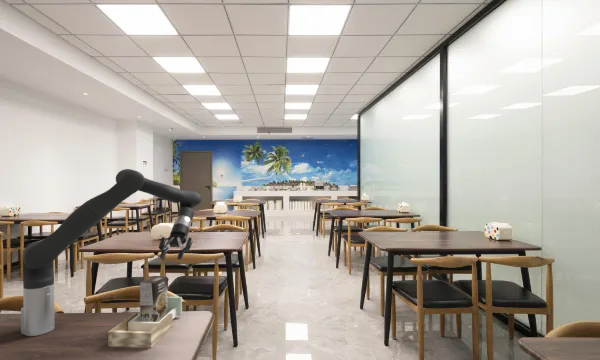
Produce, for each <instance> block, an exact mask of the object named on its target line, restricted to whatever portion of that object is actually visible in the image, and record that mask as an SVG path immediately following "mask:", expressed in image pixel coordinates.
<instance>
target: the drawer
mask: <svg viewBox="0 0 600 360" xmlns="http://www.w3.org/2000/svg"><path fill="white" fill-rule="evenodd" d="M169 313H170V314H173V320H174V319H175V318H176V317H177V316H182V315H183V297H182V296H167V315H168V314H169ZM167 315H166V316H167ZM166 316H165V317H166ZM165 317H163V318H162V319H161V320H160V321H159V322H140V313H138V315H137V316H136V317H134V318H133V319H132V320H131V321H129V322H128V331H144V332H150V331H151V330H152V329H153V328H154V327H155V326H156V325H157V324H159V323H160V322H161V321H162V320H163V319H164V318H165Z"/></svg>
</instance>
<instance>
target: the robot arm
mask: <svg viewBox="0 0 600 360" xmlns="http://www.w3.org/2000/svg"><path fill="white" fill-rule="evenodd" d="M115 182H116V183H115V184H114V185H112V187H110V188H109V189H108V190H106V191H104V192H103V193H100V194H97V195H96V196H93V197H92V198H89V200H86V201H85V202H83V203H82V204H80V206H78V207H77V208H76V209H75V210H73V211H72V212H71V213H70V214H69V215H68V216H67V217H66V218H65V220H63V222H62V223H61V224H60V225H59V227H57V228H56V229H55V230H54V231H53V232H52V233H50V234H49V235H48V236H46V237H45V238H44V239H42V240H41V241H34V242H32V243H29V244H28V245H27V246H26V247H25V248H24V249H23V252H22V284H23V285H22V287H23V288H22V290H23V293H22V294H23V300H22V302H23V306H22V307H21V309H20V334H21V335H24V336H25V335H26V337H34V336H35V337H36V336H41V335H44V334H47V333H50V332H52V331H53V330H54V329H55V326H56V325H55V272H54V261H55V260H56V259H57V258H58V257H59V256H60V254H62V253H63V252H64V251H65V250H66V249H67V248H68V247H69V246H70V245H72V243H74V242H76V240H78V239H80V237H82V236H83V235H84V234H86V233H87V232H89V231H90V230H91V229H92V228H93V227H95V226H96V225H97V224H98V223H99V222H101V221H102V220H103V219H104V218H105V217H106V216H108V215H109V214H110V213H111V212H112V211H113V210H115V208H116V207H117V206H119V205H120V204H121V203H122V202H124V201H125V200H126V199H128V198H130V196H132V195H133V194H135V193H136V192H138V191H139V192H143V193H146V194H149V195H151V196H153V197H156V198H159V199H161V200H164V201H166V202H167V201H168V202H170V203H173V204H179V208H178V214H177V216H176V218H175V221H174V223H173V225H172V228H171V231H170V233H169V235H168V237H165V236H162V237H161V239H160V241H159V245H158V250H160V255H159V256H160V259H161V260H163V261H164V260H165V257H166V254H167V252H168V251H169V250H171V249H172V248H179V249H180V250H179V251H178V255H177V257H176V258H177V260H178V261H181V260H182V259H183V256H184V254H185V252H187V253H189V252H190V251H191V247H192V244H193V242H194V241H193V239H192V237H188V236H189V232H190V230H191V226H192V221H193V219H194V215H195V212H194V211H195V210H194V209H193V208H195V207H197V206H199V205H200V204H201V202H202V196H201V194H199V192H197V191H194V190H190V189H179V188H177V187H175V186H172V185H169V184H166V183H162V182H158V181H154V180H152V179H149V178H147V177H145V176H144V175H143V173H141V172H140V171H137V170H135V169H130V168H126V169H125V168H124V169H122V170H120V171H118V173H117V174H116V176H115ZM185 243H186V245H185V246H184V244H185Z"/></svg>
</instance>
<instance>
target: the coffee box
mask: <svg viewBox="0 0 600 360" xmlns="http://www.w3.org/2000/svg"><path fill="white" fill-rule="evenodd" d="M139 285H140V286H139V314H140V322H159V321H160V320H161V319H162V318H163V317H165V316H166V315H167V297H168V276H166V275H153V276H150V277H149V278H147V279H144V280H142V281H140V284H139Z"/></svg>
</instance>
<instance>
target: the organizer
mask: <svg viewBox="0 0 600 360" xmlns="http://www.w3.org/2000/svg"><path fill="white" fill-rule="evenodd" d="M138 314H139V313H138V312H133V313H132V314H131V315H129V316H128V317H126V318H125V319H123V320H122V321H121V322H120V323H118V324H117V325H115V326H114V327H113V328H112V329H110V330H108V331H107V337H108V339H107V345H108V346H107V347H114V348H115V347H116V348H138V349H139V348H143V349H144V348H145V349H152V348H153V346H155V345H156V344H157V343H158V342H159V341H160V340H161V339H162V338H163V336H165V335H166V334H167V332H169V331H170V330H171V328H173V322H174V321H173V320H174V319H173V314H170V313H169V314H168V315H167V316H166V317H165V318H164V319H163V320H162V321H161V322H160V323H159V324H157V325H156V326H155V327H154V328H153V329H152V330H151V331H150V332H144V331H128V322H129V321H131V320H132V319H133V318H134V317H136V316H137V315H138Z"/></svg>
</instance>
